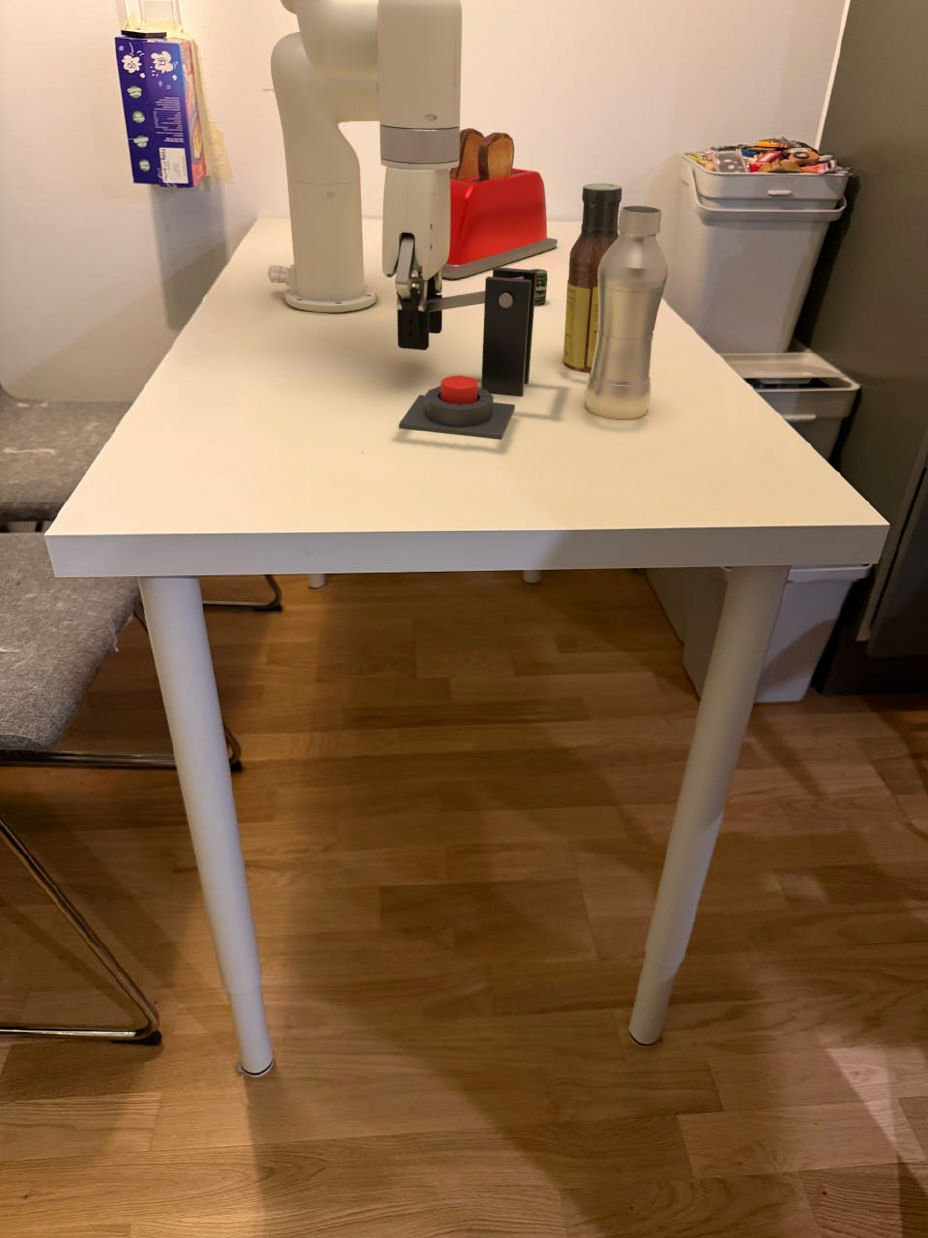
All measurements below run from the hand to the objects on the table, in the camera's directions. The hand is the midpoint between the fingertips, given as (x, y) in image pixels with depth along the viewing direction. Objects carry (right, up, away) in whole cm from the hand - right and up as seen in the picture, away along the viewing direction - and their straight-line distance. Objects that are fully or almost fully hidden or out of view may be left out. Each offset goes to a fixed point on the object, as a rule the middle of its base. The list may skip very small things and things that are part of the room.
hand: (420, 338), depth 93 cm
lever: (+5, +2, -3) cm, 6 cm away
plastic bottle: (+20, -9, -2) cm, 22 cm away
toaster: (+7, +31, +55) cm, 63 cm away
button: (+4, -8, -8) cm, 12 cm away
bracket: (+9, -6, +2) cm, 11 cm away
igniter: (+4, -11, -6) cm, 13 cm away
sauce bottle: (+19, -2, +9) cm, 21 cm away
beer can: (+15, +15, +33) cm, 39 cm away
